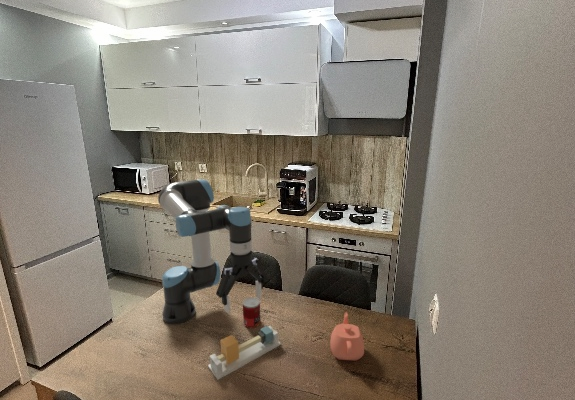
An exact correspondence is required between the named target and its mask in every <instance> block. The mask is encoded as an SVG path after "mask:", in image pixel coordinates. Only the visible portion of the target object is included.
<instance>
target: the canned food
mask: <svg viewBox="0 0 575 400" xmlns="http://www.w3.org/2000/svg"><path fill="white" fill-rule="evenodd" d="M242 317H243V318H242V319H243V325H244V326H245V327H247V328H250V329H252V328H257V327H258V326H259V325H260V324H261V301H260V299H259V298H258V297H247V298H245V299H244V300H242Z"/></svg>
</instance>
